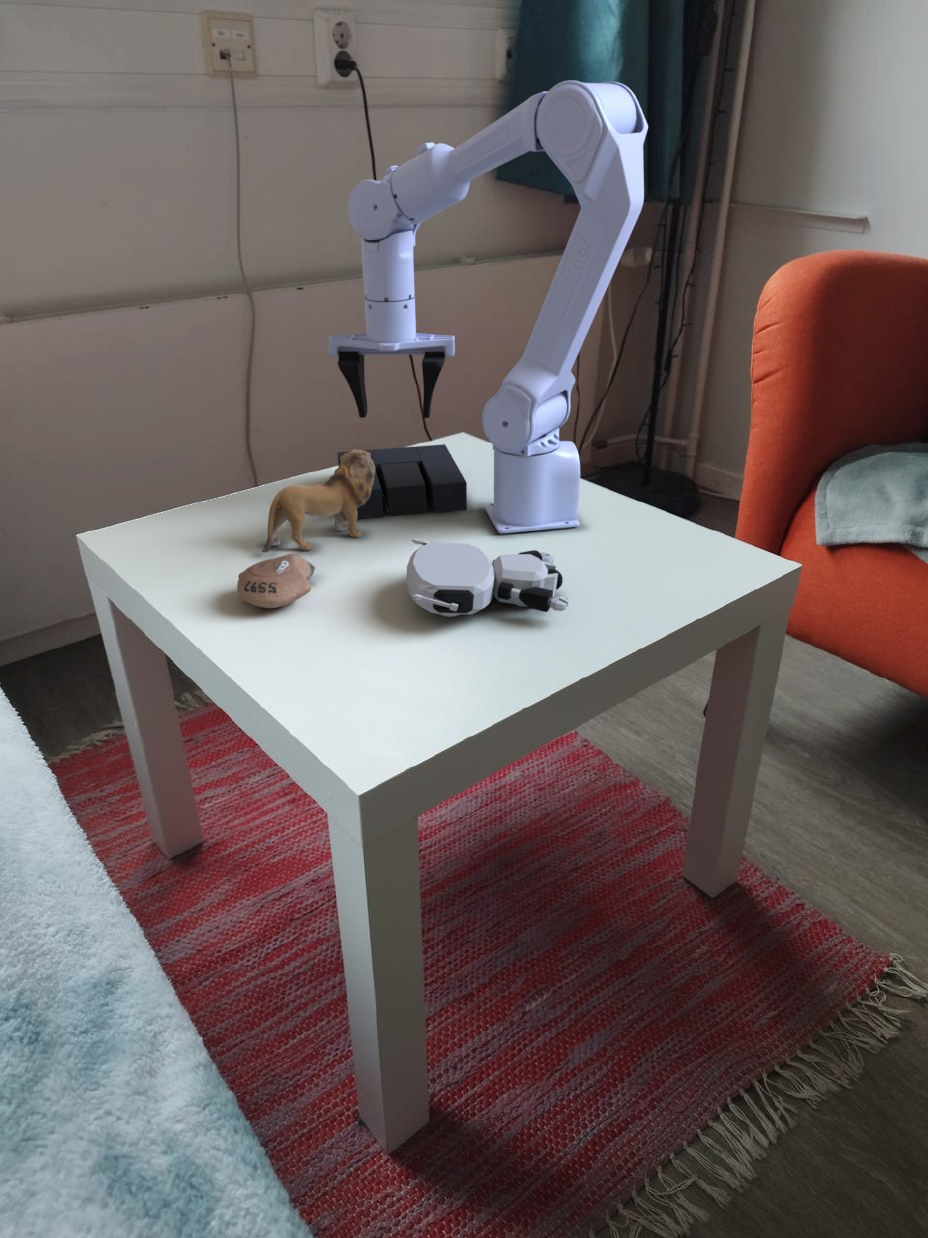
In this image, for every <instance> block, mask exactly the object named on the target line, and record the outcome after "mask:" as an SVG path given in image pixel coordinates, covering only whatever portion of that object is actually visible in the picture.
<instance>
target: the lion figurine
mask: <svg viewBox="0 0 928 1238" xmlns="http://www.w3.org/2000/svg"><path fill="white" fill-rule="evenodd" d="M364 450H365V449H363V450H362V449H357V448H354V449H350V450H348V451H349V453H345V454H344V455H343V456H341V458H340V460H341V464H340V466H338V467H337V468H336V469H334V472H333V475H331V476H330V478H329V479H328V480H326V481H325V482H323V483H319V484H315V485H309V486H308V485H307V486H306V485H289V486H286V487H284V488H282V489H280V491H278V493H276V494H275V496H274V497H273V499H272V501H271V503H270V506H269V509H268V510H269V511H268V517H267V538H266V542H265V544H264V546H263V549H262V550H261V553H262V554H263V553H264V554H265V553H268V552H270V550H271V547H277V546H279V545H280V544H281V539H280V538H278V537H275V536H276V533H277V531H278V530H279V529H280V528H281V527H282V526H283V525H284V524H285V523H286V522H288V523H289V525H290V528H291V536H290V537H291V540H293V542H294V543H295V544H296V545H297V546H298V547H299V549H301V550H302V551H311V550H312V549H313V544H312V543H311V542H309V541H308V542H306V541H304V539H303V538H302V530H303V527H304V524H305V521H306V520H305V519H306V517H305V516H306V515H308V516H310V517H314V518H326V517H330V516H333V518H334V529H335V530H336V531H338V532H342V531H345V530H347V532H348V533H349V535H350V536H351V538H352V537H353V538H361V536H362V531H361V530H360V529H357V524H358V519H357V508H359V507H360V506H361V505H364V504H365V503H366V501H367V500H368V499H369V497H370V494H371V490H372V486H373V483H374V475H375V472H376V471H375V465H374V463H373V460H372V459H371V454H370V453H369V452H366V451H364ZM343 515H344V516H345V518H346V522H347V524H346V523H344V520H343V519H344V518H343Z"/></svg>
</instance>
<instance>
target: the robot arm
mask: <svg viewBox="0 0 928 1238" xmlns="http://www.w3.org/2000/svg"><path fill="white" fill-rule="evenodd" d="M648 129H649V124H648V122H647V119H646V117H645V115H644V113H643V109H642V108H641V105H640V102H639V100H638V99H637V97H636V94H635V93H634V92H633V91H632V90H631V89H630V88H629V87H628V86H627V85H625V84H623V83H621V82H617V81H604V82H583V81H582V82H581V81H579V80H570V79H569V80H564V81H560V82H558V83H557V84H554V85H553V86H552V87H551V88H550V89H549V90H548V91H541V92H538V93H536V94H533V95H531V96H530V97H529V98H527V99H526V100H524V101H523V102H522V103H520V104H519V105H518V106H516V107H515V108H513V109H511V110H510V111H509V112H507V113H506V114H504V115H503V116H501V117H499V118H498V119H497V120H495V121H494V122H492V123H491V124H489V125H488V126H486V127H485V128H484V129H483V128H482V130H480V131H479V132H477V133H476V134H475V135H474V134H473V136H471V137H470V138H468V139H467V140H466V141H464V142H462V143H461V144H459V145H458V146H457V147H453V146H450V145H449V144H446V143H443V142H439V143H436V144H435V142H425V143H422V144H421V145H420V146H418V147H417V152H418V155H416V156H415V157H413V158H411V159H409V160H408V161H406V162H405V163H402V165H400V166H398V165H391V166H389V167H387V168H386V169H385V171H384V172H385V175H384V176H383V178H382V180H381V179H380V180H375V179H362V180H360V181H359V183H358V184H357V185H356V186H355V187H354V188H352V191H350V192H351V193H350V194H349V197H348V201H347V216H348V220H349V223H350V225H351V227H352V229H353V231H354V232H355V233H356V235H358V236H359V238H360V251H361V266H362V267H361V268H362V270H361V271H362V284H363V286H362V287H363V299H364V300H363V302H364V316H365V330H366V331H365V333H354V334H353V333H352V334H339V335H337V334H335V335H334V334H333V335H330V336H329V337H328V338H327V347H328V356H329V357H338V360H337V366H338V369H339V371H340V372H341V374H342V375H343V377H344V379H345V381H346V382H347V385H348V386H349V388H350V391H351V394H352V396H353V398H354V401H355V404H356V407H357V412H358V417H359V418H360V419H361V418H362V419H363V418H366V417H367V414H368V400H367V392H366V383H365V382H366V379H365V378H366V377H365V355H385V356H386V355H387V356H388V355H397V356H398V355H399V356H400V355H401V356H402V355H403V356H405V355H409V356H410V355H411V356H412V355H413V356H415V355H419V356H420V355H423V357H422V360H421V367H422V368H421V369H422V381H423V382H422V383H423V401H422V402H423V403H422V417H423V419H429V418H430V417H431V412H432V411H431V410H432V409H431V408H432V400H433V395H434V391H435V387H436V384H437V382H438V380H439V376H440V374H441V372H442V370H443V367H444V365H445V361H446V357H454V356H455V353H456V343H455V342H456V341H455V340H456V338H455V337H456V336H455V335H451V334H450V335H448V334H447V335H446V334H444V335H443V334H431V333H419V332H417V320H416V295H415V268H414V267H415V266H414V262H415V261H414V247H416V233H417V231H418V229H419V227H420V226H421V224H422V223H423V222H425V221H426V220H429V219H430V218H432V217H434V216H436V215H437V214H439V213H441V212H443V211H445V210H447V209H448V208H450V207H452V206H455V205H456V204H458V203H459V202H461V201H463V200H464V199H465V198H466V196H467V195H468V193H469V188H470V184H471V181H472V180H474V179H476V178H478V177H480V176H482V175H484V174H486V173H488V172H490V171H492V170H494V169H496V168H498V167H500V166H502V165H504V164H506V163H508V162H510V161H512V160H514V159H516V158H518V157H520V156H522V155H524V154H527V153H528V152H535V153H537V152H545V153H546V154H547V156H548V157H549V158H550V160H551V161H552V162H553V163H554V164H555V165H556V167H557V168H558V169H559V171H560V172H561V173H562V174H563V176H564V177H565V179H567V180H568V182H569V183H570V185H571V186H572V189H573V191H574V193H575V196H576V199H577V200H578V203H579V205H580V210H579V213H578V215H577V217H576V221H575V223H574V226H573V228H572V230H571V233H570V236H569V238H568V241H567V243H566V246H565V249H564V250H563V253H562V256H561V259H560V260H559V264H558V265H557V268H556V271H555V273H554V275H553V278H552V281H551V284H550V286H549V288H548V291H547V294H546V296H545V300H544V301H543V304H542V306H541V308H540V311H539V314H538V317H537V318H536V321H535V324H534V326H533V329H532V332H531V334H530V337H529V339H528V342H527V344H526V346H525V349H524V351H523V354H522V356H521V358H520V359H519V361H518V362H517V363H516V364H515V365H514V366H513V368H512V369H511V370H510V371H509V372H508V374H507V375H506V376H505V377H504V378H503V381H502V384H501V386H500V388H499V390H498V391H497V392H496V394H494V395H493V396H492V397H490V399H488V400H487V402H486V403H485V405H484V407H483V409H482V415H481V424H482V428H483V429H482V430H483V432H484V434H485V436H486V438H487V440H488V441H489V442H490V443H491V444H492V450H493V502H491V503H490V502H489V503H485V504H484V505H483V508H484V510H485V512H486V514H487V515H488V517H489V519H490V521H491V523H492V524H493V526H494V528H495V529H496V531H497V533H499V534H512V533H524V532H531V531H532V532H534V531H545V530H555V529H556V530H557V529H567V528H576V527H579V526H580V521H579V503H580V501H579V500H580V487H581V463H580V455H579V451H578V448H577V446H576V444H575V443H574V442H573V441H570V440H560V429H561V427H562V426H564V424H566V422H567V421H568V419H569V416H570V414H571V407H572V406H571V405H572V404H571V395H572V391H573V388H574V385H575V384H576V378H575V376H574V374H573V373H572V369H573V366H574V364H575V362H576V359H577V357H578V355H579V353H580V350H581V348H582V345H583V344H584V342H585V339H586V337H587V335H588V333H589V330H590V328H591V326H592V324H593V321H594V319H595V316H596V314H597V313H598V309H599V307H600V305H601V303H602V300H603V298H604V296H605V294H606V293H607V289H608V287H609V284H610V283H611V280H612V278H613V275H614V274H615V272H616V269H617V267H618V264H619V261H620V260H621V257H622V255H623V253H624V250H625V248H626V246H627V243H628V242H629V239H630V236H631V235H632V232H633V230H634V227H635V226H636V223H637V221H638V219H639V217H640V214H641V213H642V210H643V206H644V202H645V201H644V199H645V182H644V181H645V180H644V179H645V177H644V175H645V173H644V143H645V141H646V137H647V133H648Z"/></svg>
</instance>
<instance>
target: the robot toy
mask: <svg viewBox="0 0 928 1238" xmlns="http://www.w3.org/2000/svg"><path fill="white" fill-rule="evenodd" d="M411 542H412V543H413V544H416V545H421V546H420V547H418V548H417V549H415V550H414V551H413V552H412V553H411V555H410V557H409V559H408V563H407V565H406V577H405V579H406V581H405V585H406V587H407V591H408V594H409V596H410V597H411V599H412V600H413V601H414V602H415V603H416V604H417V605H418V606H419V607H420V608H422V609H423V610H425V611H428V612H429V613H432V614H437V615H439V616H442V617H445V618H453V617H457V616H460V615H474V614H475V613H477V612H479V611H482V610H483V609H485V608H486V607H487V606H489V604H490V603H491V601H492V599H493V596H494V598H495V599H496V600H497V601H498V602H499V603H505V604H514V605H516V606H518V607H522V608H528V609H532V610H536V611H539V612H540V611H541V612H544V613H548V612H549V610H550V609H552V610H554V611H555V612H563V611H565V610H566V609H567V608H568V607H569V603H570V601H569V600H568V598H566V597H564V596H560V595H559V596H555V595H556V591H557V590H559V589H560V588H561V587H562V586H563V582H564V580H563V576H562V574H561V572H560V571H559V570H558V569H556V567H557V566H556V565H555V564H553V563H554V561H555V557H553V555H551V554H550V553H548V552H540V551H538V550H536V549H533V550H527V551H522V552H521V551H520V552H518V553H517V554H501V555H499V556H497V557H496V558H494V559H493V560H491V559H490V558H489V557H488V555H487V554H485V553H484V552H483V550H481V548H478V547H476V546H475V545H472V544H470V543H468V542H467V543H466V542H441V541H440V542H439V541H431V542H426V541H424V540H423V541H422V540H420V539H418V538H411Z"/></svg>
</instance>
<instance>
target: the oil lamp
mask: <svg viewBox="0 0 928 1238" xmlns="http://www.w3.org/2000/svg"><path fill="white" fill-rule="evenodd" d="M315 570H316V566H314V565H313V564H312V563H311V562H310V561H308V560H306V559H305V558H303V557H302V556H300V555H298V554H296V553H288V554H284V555H282V556H279V557H275V558H268V559H264V560H260V561H258V562H256V563H254V564H252V565H250V566H248V567H247V568H245V569H244V570H243V571H241V572H240V573H239V574H238V575H237V577H238V580H237V585H236V588H237V593H238V595H239V598H241V599H242V600H243V601H244V602H246V603H247V604H250V605H253V606H255V607H259V608H262V609H276V608H282V607H285V606H288V605H290V604H291V603H294V602H296V601H297V600H299V599H301V598H302V597H304V596H306V595H307V594H308V593H310V592H311V591H312V586H311V584H310V582H309V578H311V577H312V576H313V575H314V572H315Z"/></svg>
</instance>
